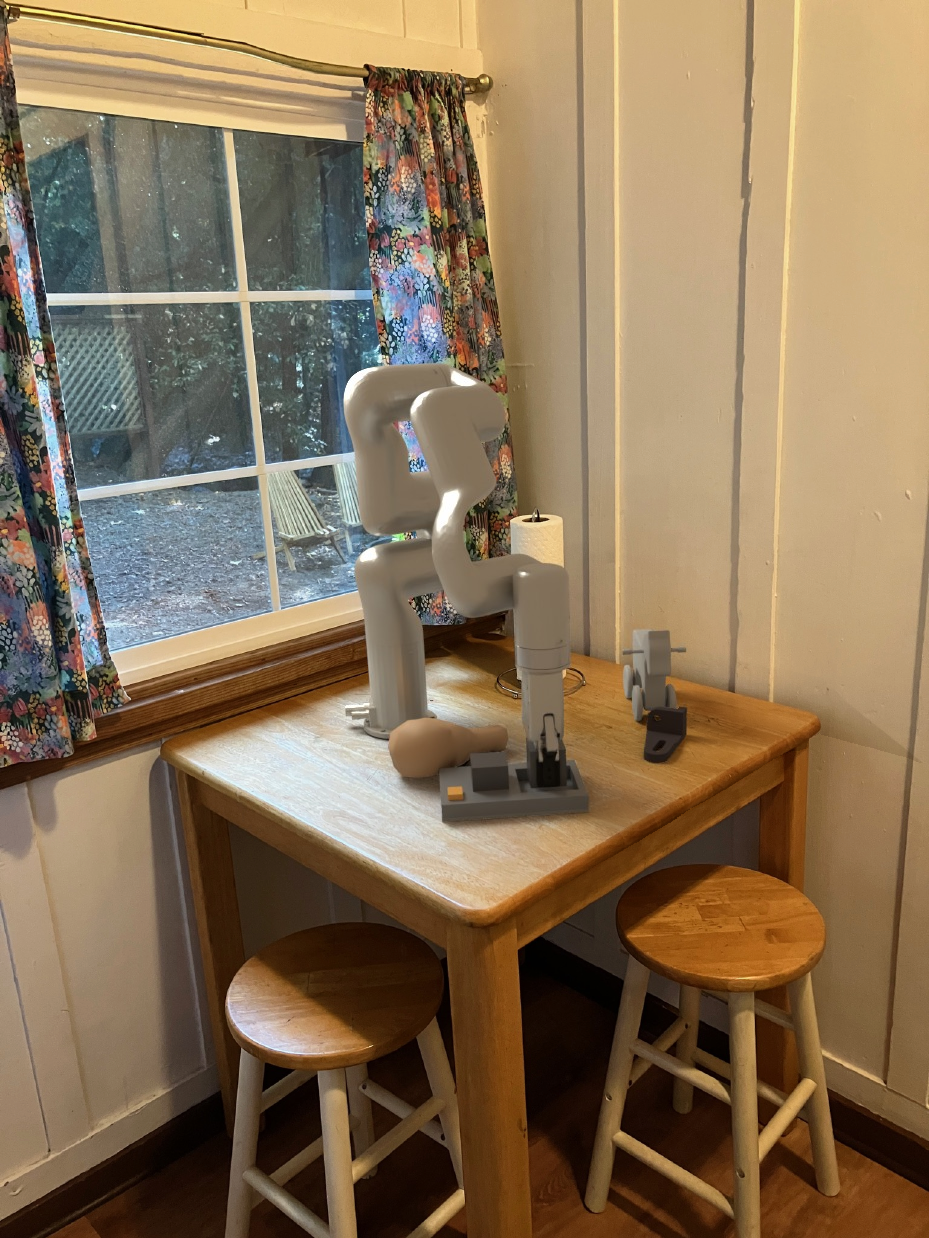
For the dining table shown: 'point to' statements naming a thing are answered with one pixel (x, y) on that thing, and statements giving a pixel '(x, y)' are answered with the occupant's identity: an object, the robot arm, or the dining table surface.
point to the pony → (650, 671)
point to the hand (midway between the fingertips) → (545, 776)
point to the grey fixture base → (505, 791)
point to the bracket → (664, 733)
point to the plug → (533, 756)
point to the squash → (440, 745)
